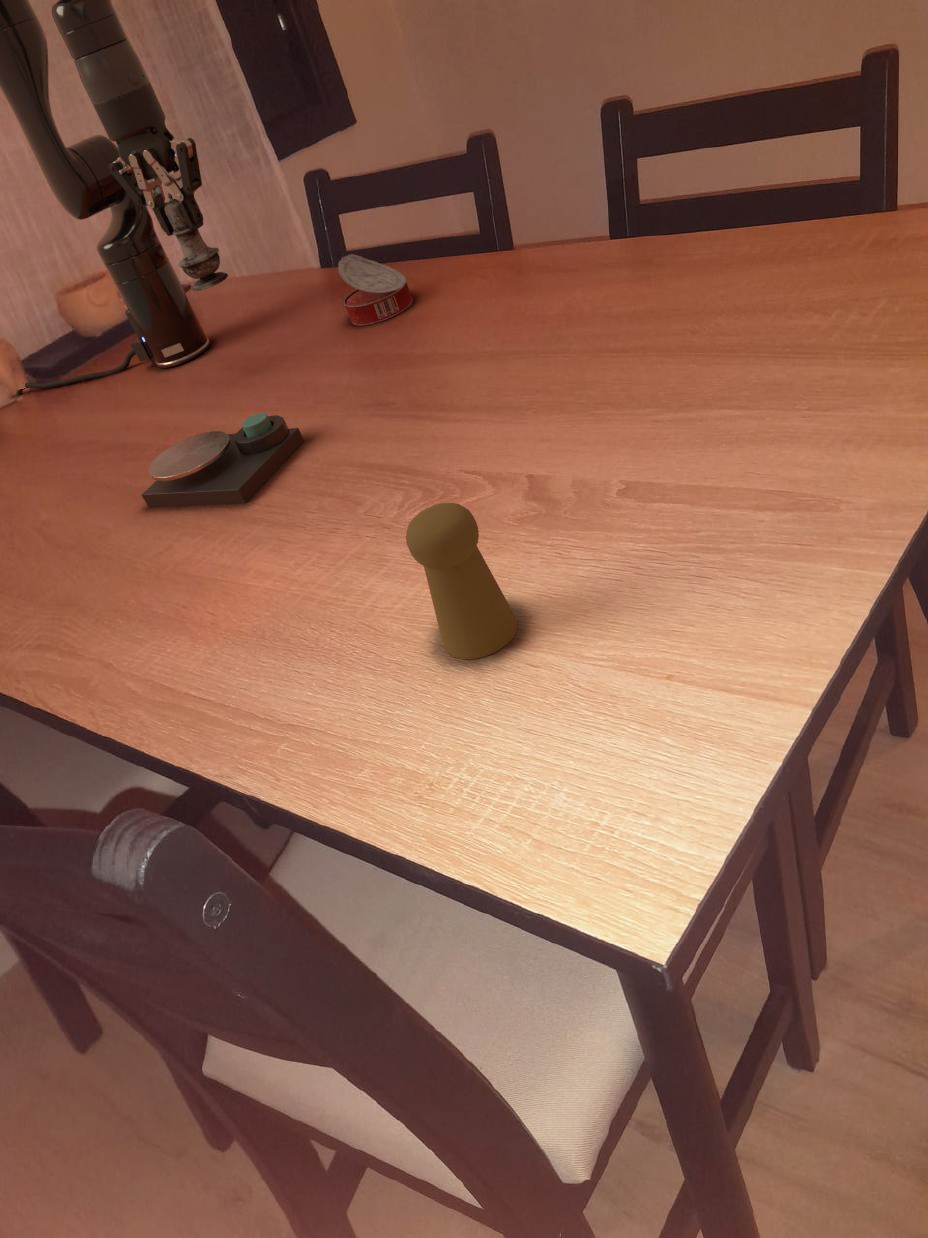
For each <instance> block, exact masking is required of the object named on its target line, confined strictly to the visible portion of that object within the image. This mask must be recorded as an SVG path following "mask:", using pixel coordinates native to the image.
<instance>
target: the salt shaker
mask: <svg viewBox="0 0 928 1238" xmlns="http://www.w3.org/2000/svg"><path fill="white" fill-rule="evenodd" d="M173 196H174V194H172V193H169V192H168V193H167V199H169V200H168V201H167V202H168V203H167V204H166V206H165V212H166V214H167V217H168V219H169V221H170V223H171V225H172V227H173V229H174V231H173V235H172V236H175V237H176V239H177V241H178V243H179V245H180V247H181V251H182V255H183V256H182V259H181V260H180V261H179V263H178V264H177V266H178V267H179V268H181V269H182V271H183V273H185V275H187V276H188V277H189V278H191V279H193V280H196V281H194V283H193V285H192V287H191V290H192V291H194V292H199V291H203V290H207V289H210V288H212V287H215V286H216V285H218V284H220V283H222V282H223V281H225V280H227V278H228V277H229V274H228V273H227V272H223V271H217V270H219V268H220V264H221V260H220V259H221V258H220V254H219V251H220V249H219V248H218V247H210V246H209V245H207V243H206V242H205V241H204V239H203V237H202V235H201V232H200V231H199V228H198V229H197V230H191V229H190V228H189V226H188V224H187V222H186V219H185V217H184V215H183V213H182V211H181V209H180V207H179V204H178V203H179V202H180V201H178V200H177V199H176V198H174V197H173ZM197 279H198V280H197Z"/></svg>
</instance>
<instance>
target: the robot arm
mask: <svg viewBox="0 0 928 1238" xmlns="http://www.w3.org/2000/svg"><path fill="white" fill-rule="evenodd" d="M51 15H52V19H53V21H54V23H55V25H56V27H57V30H58V32H59V33H60V35H61V38H62V40H63V41H64V44H65V45H66V48H67V50H68V51H69V54H70V56H71V58H72V60H73V63H74V65H75V67H76V70H77V73H78V76H79V78H80V81H81V83H82V86H83V88H84V90H85V92H86V94H87V96H88V98H89V100H90V102H91V105H92V106H93V108H94V110H95V112H96V114H97V117H98V118H99V121H100V122H101V124H102V126H103V127H102V128H104V131H105V133H106V135H107V136H106V135H103V134H94V135H91V136H88V137H85V138H84V139H81V140H78V141H77V142H75V143H72V144H71V145H68V146H66V145H65V143H64V141H63V139H62V137H61V134H60V132H59V129H58V127H57V125H56V122H55V119H54V116H53V112H52V107H51V102H50V88H49V87H50V85H49V49H48V40H47V37H46V33H45V30H44V27H43V25H42V23H41V21H40V19H39V17H38V15H37V13H36V12H35V10H34V7H33V6H32V4H31V2H30V0H0V91H1V93H2V95H3V96H4V98H5V100H6V101H7V104H8V105H9V107H10V109H11V111H12V113H13V115H14V117H15V119H16V121H17V122H18V125H19V126H20V129H21V132H22V133H23V135H24V137H25V139H26V141H27V144H28V146H29V148H30V150H31V152H32V155H33V156H34V158H35V160H36V163H37V165H38V167H39V170H40V171H41V173H42V175H43V178H44V179H45V181H46V183H47V185H48V187H49V189H50V191H51V193H52V194H53V196H54V197H55V199H56V200H57V202H58V204H59V205H60V206H61V208H62V209H63V210H64V211H65V212H66V213H68V215H69V216H70V217H72V218H74V219H76V220H81V221H82V220H83V221H84V220H86V219H89V218H92V217H93V216H95V215H97V214H99V213H101V212H104V211H105V210H107V209H109V210H110V215H111V217H110V220H109V224H108V227H107V229H106V230H105V232H104V233H103V234H102V236H101V237H100V238H99V239H98V241H97V243H96V251H97V254H98V256H99V258H100V260H101V261H102V263H103V265H104V267H105V269H106V271H107V273H108V274H109V276H110V279H111V280H112V282H113V284H114V285H115V288H116V289H117V291H118V293H119V295H120V297H121V298H122V301H123V302H124V304H125V306H126V310H125V311H124V312H125V316H126V317H127V319H128V321H129V323H130V325H131V327H132V329H133V330H134V333H135V334H136V336H137V338H136V339H135V340H133V341H132V342H131V343H130V346H131V348H132V349H131V350H130V351H129V352H128V353H127V354H126V356H125V358H124V361H123V363H122V364H120V365H118V366H117V367H115V368H113V369H109V370H105V371H99V372H92V373H86V374H82V375H77V376H74V377H69V378H64V379H60V380H55V381H50V382H45V383H44V382H43V383H42V382H24V383H25V387H26V388H24V389H20V390H18V389H16V393H15V395H16V397H20V396H22V394H23V392H24V390H25V389H49V388H56V387H59V386H64V385H69V384H70V385H71V384H75V383H78V382H82V381H83V382H84V381H87V380H92V379H98V378H99V379H100V378H105V377H109V376H111V375H114V374H118V373H121V372H124V370H126V369H128V367H129V366H130V364H131V360H132V359H133V357H135V356H136V357H137V359H138V361H139V362H142V361H143V362H145V361H150V363H151V364H152V366H153V367H154V366H155V367H158V368H160V369H166V368H167V369H168V368H171V367H176V366H178V365H181V364H184V363H186V362H188V361H190V360H193V359H195V358H197V357H198V356H200V355H201V354H202V353H204V352H205V351H206V350H207V349H209V347H210V346H211V341H210V339H209V337H208V336H207V334H206V333H205V330H204V328H203V326H202V324H201V322H200V320H199V318H198V315H197V314H196V311H195V310H194V308H193V305H192V304H191V302H190V300H189V298H188V296H187V293H186V291H185V289H184V287H183V285H182V284H181V283H182V282H181V281H180V279H179V277H178V275H177V273H176V271H175V269H174V267H173V265H172V263H171V261H170V259H169V257H168V255H167V253H166V251H165V249H164V247H163V244H162V242H161V241H160V238H159V237H158V235H157V234H158V233H157V232H156V229H155V225H154V220H153V217H152V215H151V213H150V211H149V209H151V210H152V211H153V213H154V216H155V217H156V220H157V221H158V224H159V226H160V228H161V229H162V231H163V232H164V233H165V234H166V235H167V236H168V237H171V236H174V235H173V231H174V229H173V227H172V225H171V223H170V221H169V219H168V217H167V214H166V212H165V206H166V204H167V203H168V201H166V196H165V192H164V190H163V186H162V184H163V185H164V186H166V187H168V188H169V190H170V191H171V194H172V195H173V196H174V198H175V199H177V200H178V201H180V202H179V203H178V204H179V207H180V209H181V211H182V213H183V215H184V217H185V219H186V222H187V224H188V226H189V228H190V229H191V230H197V229H198V230H199V229H200V228H202V227H203V226H204V215H203V213H202V211H201V209H200V206H199V205H198V204H199V203H198V202H197V200H196V198H195V192H196V191H197V190H198V189H200V188H201V187H202V186H203V182H202V181H203V180H202V175H201V170H200V163H199V156H198V152H197V144H196V141H195V139H194V138H192V137H188V138H186V139H180V138H175V136H174V135H173V134H172V132H171V131H170V130H169V129H168V127H167V125H166V114H165V112H164V110H163V107H162V105H161V103H160V101H159V98H158V96H157V93H156V92H155V90H154V88H153V85H152V82H151V81H150V78H149V76H148V74H147V72H146V70H145V67H144V65H143V62H142V60H141V59H140V57H139V55H138V53H137V52H136V50H135V48H134V46H132V45H133V44H131V41H130V39H129V38H128V34H127V33H126V31H125V28H124V26H123V23H122V21H121V19H120V17H119V15H118V13H117V10H116V8H115V6H114V3H113V1H112V0H56V1H55V2H54V3H53V5H52V7H51ZM115 143H116V144H115ZM171 172H173V173H172V174H170V173H171ZM165 201H166V202H165Z"/></svg>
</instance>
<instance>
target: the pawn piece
mask: <svg viewBox="0 0 928 1238" xmlns="http://www.w3.org/2000/svg"><path fill="white" fill-rule="evenodd" d="M479 537H480V534H479V527H478V523H477V520H476V519H475V517H474V515H473V513H472V512H471V511H470V510H469V509H468V508H466V507H465V506H463V505H462V504H460V503H456V502H444V503H443V502H442V503H437V504H433V505H431V506H429V507H427V508H424V509H423V510H422V511H421V510H420V512H418V514H416V515H415V516H414V517H413V518H411V520H410V521H409V523H408V524H407V530H406V533H405V542H406V546H407V548H408V550H409V553H410V556H412V559H414V560H415V561H416V562H417V563H418V564H419V565H421V566H423V568H424V572H425V573H424V574H425V577H426V581H427V585H428V589H429V593H430V598H431V601H432V605H433V609H434V614H435V617H436V622H437V625H438V631H439V634H440V639H441V642H442V646H443V649H444V651H445V652H446V653H447V654H448V655H450V656H451V657H453V658H456V659H459V660H476V659H481V658H486V657H488V656H490V655H493V654H495V653H497V652H499V651H500V650H502V649H503V648H504V647H506V646H507V645H508V644H509V643H510V642H511V641H512V640H513V639H514V638H515V635H516V634H517V631H518V626H519V621H518V619H517V617H516V615H515V613H514V611H513V610H512V608H511V606H510V604H509V602H508V600H507V599H506V597H505V595H504V593H503V591H502V589H501V587H500V586H499V584H498V582H497V580H496V578H495V576H494V574H493V573H492V571H491V569H490V567H489V566H488V563H487V562H486V559H485V558H484V555H482V553H481V551H480V549H479V547H478V544H479Z"/></svg>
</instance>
